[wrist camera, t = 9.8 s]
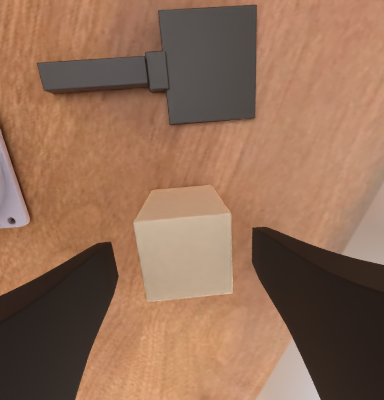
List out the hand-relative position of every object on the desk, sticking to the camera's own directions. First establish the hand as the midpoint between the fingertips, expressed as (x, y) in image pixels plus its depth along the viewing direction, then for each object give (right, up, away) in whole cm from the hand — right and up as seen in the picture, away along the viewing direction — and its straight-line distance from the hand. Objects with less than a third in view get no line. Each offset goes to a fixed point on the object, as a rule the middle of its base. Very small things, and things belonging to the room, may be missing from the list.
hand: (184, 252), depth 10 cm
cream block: (0, +2, +5) cm, 5 cm away
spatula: (-2, +10, +2) cm, 11 cm away
